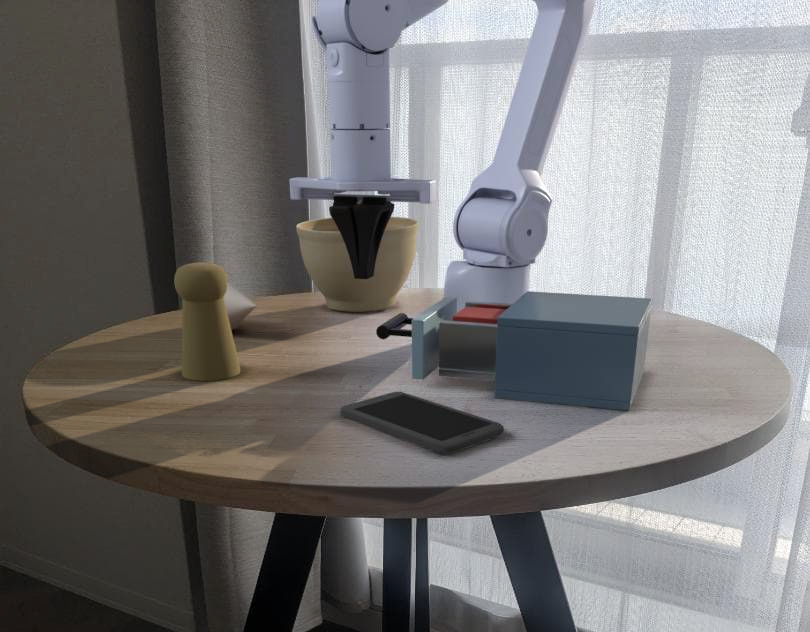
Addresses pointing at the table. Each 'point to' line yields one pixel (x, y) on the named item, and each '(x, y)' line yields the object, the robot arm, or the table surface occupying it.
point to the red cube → (478, 315)
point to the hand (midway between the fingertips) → (364, 277)
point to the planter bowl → (335, 270)
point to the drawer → (448, 341)
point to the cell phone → (422, 422)
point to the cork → (205, 323)
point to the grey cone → (237, 305)
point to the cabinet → (572, 349)
